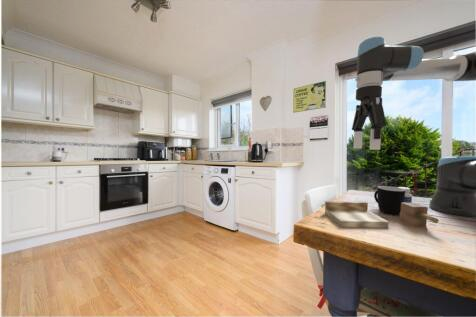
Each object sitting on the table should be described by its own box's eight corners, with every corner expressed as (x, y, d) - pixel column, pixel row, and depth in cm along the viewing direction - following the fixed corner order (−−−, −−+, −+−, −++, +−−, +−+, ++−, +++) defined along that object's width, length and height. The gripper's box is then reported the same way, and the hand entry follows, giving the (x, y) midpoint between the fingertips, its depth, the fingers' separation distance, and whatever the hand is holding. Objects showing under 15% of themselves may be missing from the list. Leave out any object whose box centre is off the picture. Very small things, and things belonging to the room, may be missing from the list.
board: (364, 213, 81) (365, 201, 80) (388, 227, 68) (389, 213, 67) (324, 213, 81) (325, 201, 80) (340, 226, 68) (341, 212, 68)
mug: (409, 216, 79) (411, 190, 78) (389, 217, 77) (391, 191, 77) (382, 206, 91) (384, 184, 90) (365, 207, 89) (366, 184, 88)
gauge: (413, 221, 74) (415, 202, 73) (443, 234, 63) (445, 213, 62) (399, 221, 74) (401, 202, 73) (427, 234, 63) (428, 212, 62)
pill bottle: (414, 212, 83) (416, 189, 82) (401, 212, 83) (402, 189, 82) (403, 208, 88) (405, 186, 87) (391, 208, 88) (392, 186, 87)
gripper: (344, 96, 82) (342, 148, 84) (374, 76, 57) (370, 150, 59) (364, 95, 81) (361, 148, 82) (403, 74, 56) (398, 150, 58)
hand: (365, 149), depth 71 cm, fingers open, 13 cm apart
